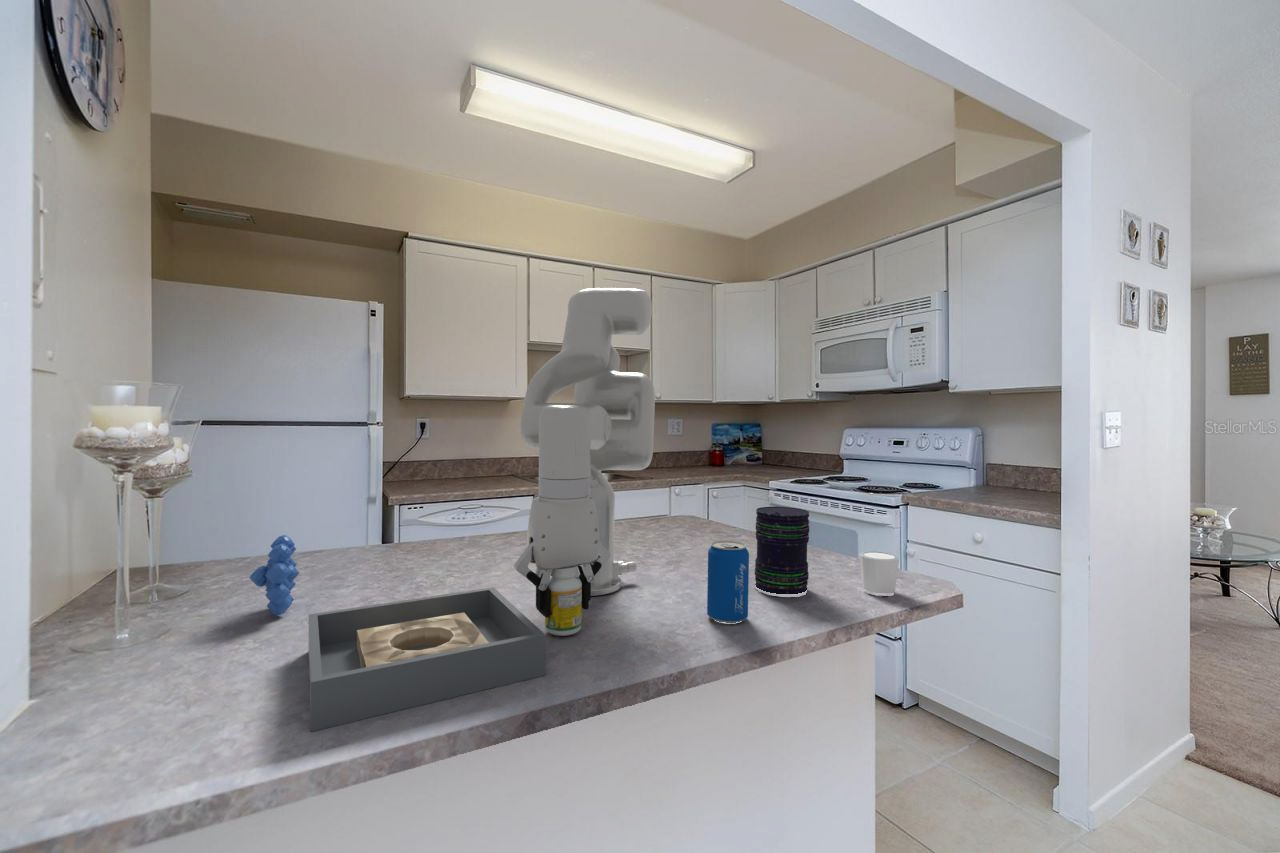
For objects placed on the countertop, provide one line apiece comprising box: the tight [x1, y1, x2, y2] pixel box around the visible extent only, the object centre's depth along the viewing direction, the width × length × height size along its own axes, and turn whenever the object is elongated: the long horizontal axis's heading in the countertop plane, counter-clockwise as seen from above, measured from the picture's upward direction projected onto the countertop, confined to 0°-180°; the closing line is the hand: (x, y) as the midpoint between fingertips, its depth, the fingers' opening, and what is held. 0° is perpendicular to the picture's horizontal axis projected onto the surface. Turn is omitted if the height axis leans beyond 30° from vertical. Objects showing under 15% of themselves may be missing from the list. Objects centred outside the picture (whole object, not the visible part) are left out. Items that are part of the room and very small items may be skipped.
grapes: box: [249, 534, 300, 616], centre depth 89 cm, size 12×7×12 cm, turn 27°
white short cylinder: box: [859, 551, 900, 593], centre depth 104 cm, size 7×7×7 cm
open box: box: [307, 587, 547, 732], centre depth 72 cm, size 25×22×5 cm
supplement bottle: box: [544, 566, 583, 637], centre depth 83 cm, size 5×5×10 cm
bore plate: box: [357, 612, 489, 668], centre depth 72 cm, size 14×14×2 cm
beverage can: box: [706, 540, 750, 623], centre depth 89 cm, size 6×6×12 cm
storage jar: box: [754, 506, 810, 594], centre depth 105 cm, size 10×10×15 cm
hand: (563, 609), depth 83 cm, fingers closed on supplement bottle, 5 cm apart
